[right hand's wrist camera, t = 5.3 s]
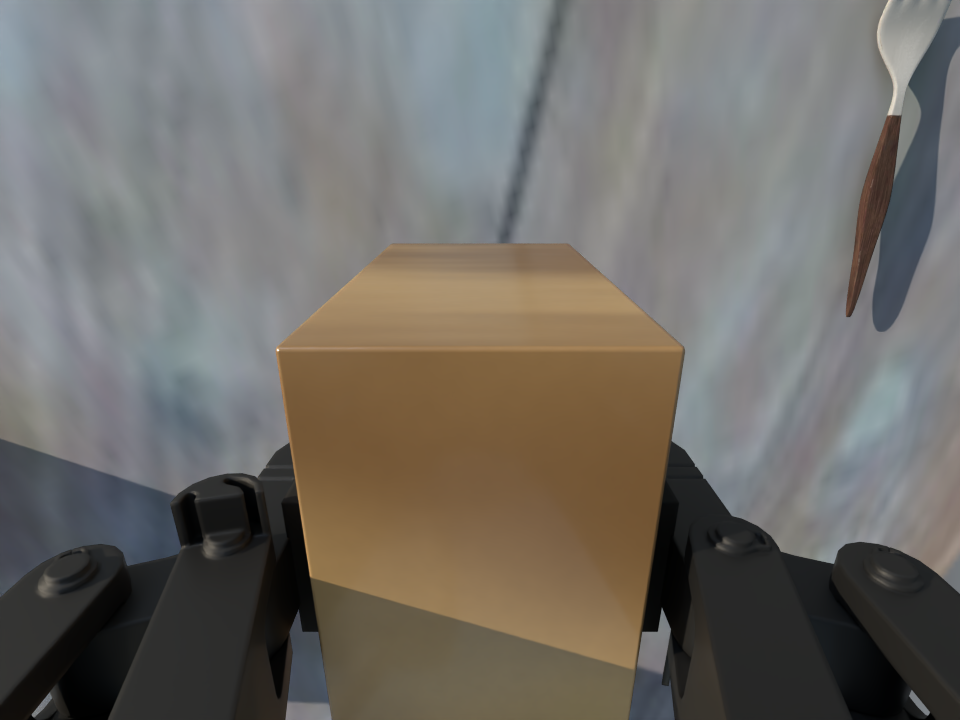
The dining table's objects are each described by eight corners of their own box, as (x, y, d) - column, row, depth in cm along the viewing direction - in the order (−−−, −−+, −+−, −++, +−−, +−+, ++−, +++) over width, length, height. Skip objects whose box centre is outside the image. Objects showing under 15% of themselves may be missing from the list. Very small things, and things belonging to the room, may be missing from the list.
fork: (815, 314, 26) (841, 326, 24) (896, -73, 20) (939, -98, 18) (866, 313, 26) (896, 324, 24) (962, -76, 20) (1012, -100, 18)
